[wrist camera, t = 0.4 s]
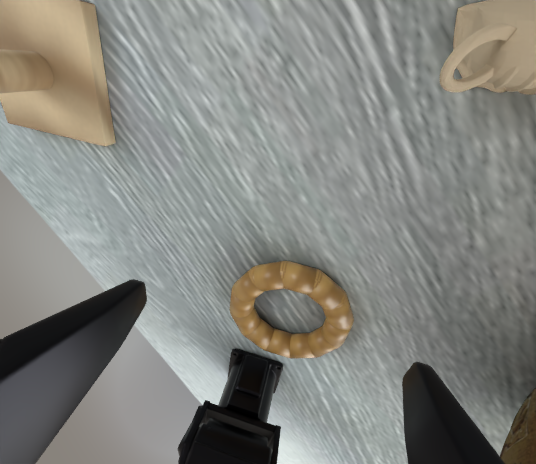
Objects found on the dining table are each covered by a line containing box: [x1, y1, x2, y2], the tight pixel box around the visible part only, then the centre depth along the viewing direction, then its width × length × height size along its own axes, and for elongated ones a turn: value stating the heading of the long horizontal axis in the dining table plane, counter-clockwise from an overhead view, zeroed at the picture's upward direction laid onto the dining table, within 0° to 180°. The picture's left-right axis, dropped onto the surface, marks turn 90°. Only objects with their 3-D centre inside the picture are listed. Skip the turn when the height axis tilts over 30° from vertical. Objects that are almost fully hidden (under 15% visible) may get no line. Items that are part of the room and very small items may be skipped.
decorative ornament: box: [440, 0, 536, 95], centre depth 12 cm, size 4×8×5 cm, turn 92°
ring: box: [230, 261, 354, 358], centre depth 26 cm, size 12×12×2 cm
